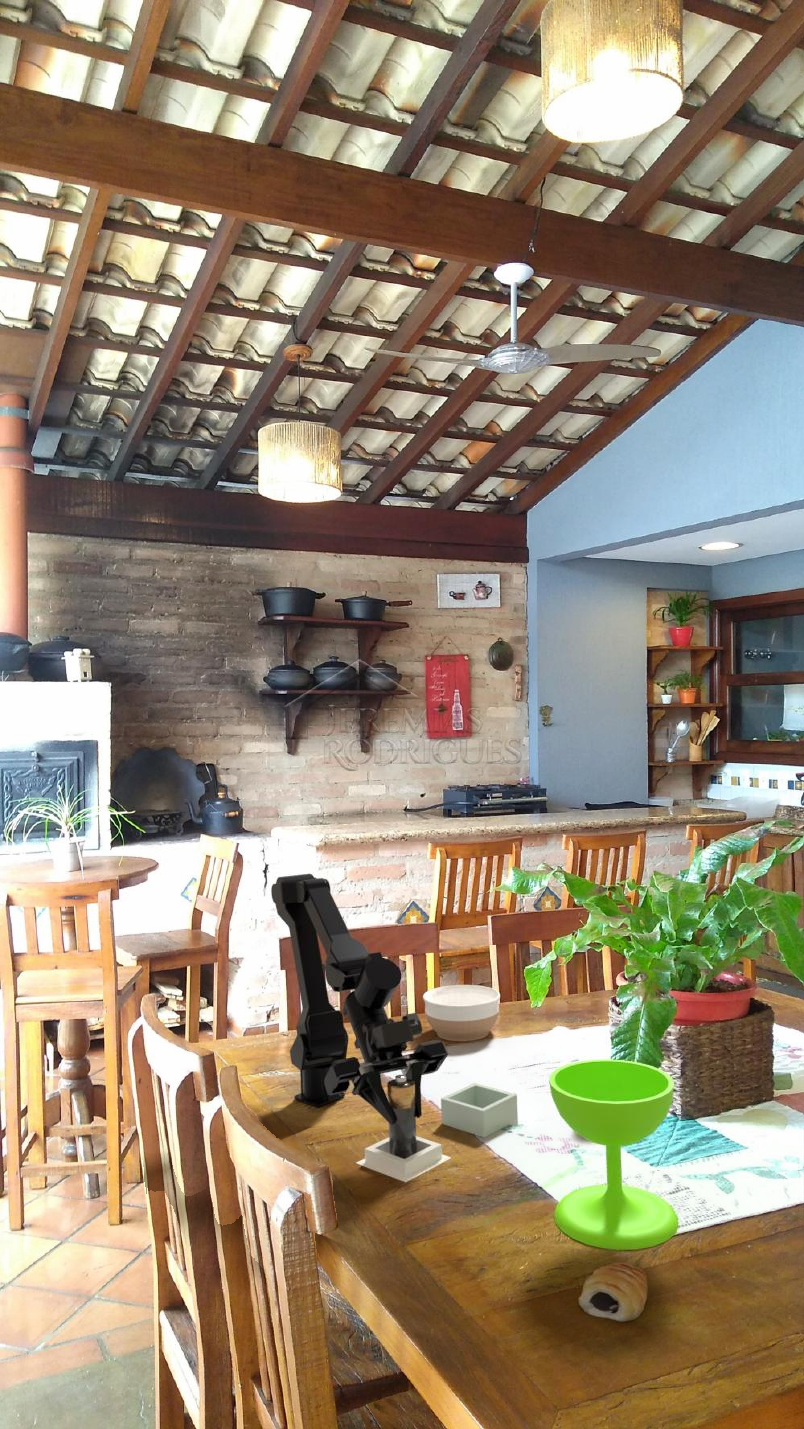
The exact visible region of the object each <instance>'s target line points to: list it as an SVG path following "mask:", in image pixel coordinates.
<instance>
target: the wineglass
mask: <svg viewBox="0 0 804 1429" xmlns="http://www.w3.org/2000/svg"><path fill="white" fill-rule="evenodd" d="M548 1082H549V1083H548V1084H549V1087H550V1093H551V1097H552V1101H553V1103H554V1105H555V1107H556V1109H557V1111H558V1113H559V1116H560V1117H561V1118H562V1119H563V1121H564V1122H565V1123H566V1124H567V1125H568V1127H569V1128H571V1130H573V1132H574V1133H576V1134H577V1135H579V1136H581V1137H583V1138H584V1139H585V1140H587V1141H588V1142H591V1143H595V1144H597V1145H601V1146H605V1160H606V1184H596V1185H591V1186H585V1187H582V1188H578V1189H575V1190H573V1191H571V1192H569V1193H568V1194H566V1195H565V1196H563V1197H562V1199H561V1200H560V1201H559V1202H558V1203H557V1205H556V1207H555V1210H554V1214H553V1219H554V1222H555V1225H556V1226H557V1227H558V1228H559V1229H560V1230H561V1231H562V1233H564V1234H566V1236H569V1237H570V1238H572V1239H573V1240H575V1241H577V1242H580V1243H583V1244H585V1245H588V1246H591V1247H596V1248H601V1249H609V1250H618V1251H628V1250H629V1251H630V1250H631V1251H632V1250H641V1249H647V1248H652V1247H656V1246H658V1245H662V1244H663V1243H665V1242H667V1241H668V1240H670V1239H671V1238H672V1237H673V1236H675V1235H676V1233H677V1231H678V1230H679V1227H680V1226H679V1225H680V1222H678V1220H679V1221H680V1219H679V1217H678V1214H677V1212H676V1210H674V1207H673V1206H672V1205H671V1204H669V1203H668V1202H667V1201H666V1200H665V1199H664V1198H663V1197H661V1196H659V1195H657V1194H655V1193H654V1192H651V1191H648V1190H644V1189H643V1188H638V1187H633V1186H630V1185H623V1176H622V1175H623V1174H622V1173H623V1172H622V1149H621V1147H625V1146H632V1145H634V1144H638V1143H639V1142H641V1141H643V1140H644V1139H646V1138H648V1137H649V1136H651V1135H653V1134H654V1133H655V1132H656V1130H658V1129H659V1127H660V1126H661V1125H662V1123H663V1122H664V1121H665V1120H666V1118H667V1117H668V1114H669V1113H670V1112H669V1111H670V1109H671V1106H672V1104H673V1097H674V1088H675V1086H674V1085H675V1080H674V1079H673V1077H672V1076H671V1075H670V1074H669V1073H668V1072H665V1071H664V1070H662V1069H660V1068H657V1067H655V1066H653V1065H651V1064H650V1065H649V1064H644V1063H642V1062H639V1061H638V1062H637V1061H630V1060H624V1059H590V1060H583V1061H577V1062H572V1063H568V1064H564V1065H562V1066H560V1067H558V1068H556V1069H554V1071H552V1072H551V1073H550V1075H549V1078H548ZM678 1224H679V1225H678ZM677 1229H678V1230H677Z"/></svg>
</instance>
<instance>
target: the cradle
mask: <svg viewBox="0 0 804 1429" xmlns="http://www.w3.org/2000/svg"><path fill="white" fill-rule="evenodd" d="M416 1140H417V1153H416V1154H414V1155H412V1156H410V1157H408V1158H406V1159H403V1158H400V1157H397V1156H394V1155H392V1154H390V1146H389V1136H388V1137H387V1138H384V1139H382V1140H381V1141H378V1142H376V1143H373V1144H371V1145H370V1146H368V1147H366V1148H364V1158H362V1159H361V1160H359V1161H357V1162H355V1164H357V1165H360V1166H362V1167H365V1168H367V1169H370V1170H372V1171H375V1172H378V1173H379V1174H383V1175H385V1176H389V1178H390V1177H391V1178H393V1179H396V1180H398V1181H401V1182H403V1183H407V1182H410V1181H411V1180H413V1179H416V1178H417V1177H418V1176H421V1175H422V1174H424V1173H426V1172H428V1171H430V1170H432V1169H434V1168H436V1167H438V1166H439V1165H441V1164H443V1163H446V1161H449V1160H451V1159H452V1157H451V1156H449V1155H444V1154H443V1151H442V1150H443V1149H442V1148H443V1146H442V1144H441V1143H438V1142H435V1141H432V1140H429V1139H426V1138H424V1137H420V1136H417V1135H416Z"/></svg>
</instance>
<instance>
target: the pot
mask: <svg viewBox="0 0 804 1429" xmlns="http://www.w3.org/2000/svg"><path fill="white" fill-rule="evenodd" d="M440 1106H441V1107H440V1108H441V1125H444V1126H448V1127H451V1128H453V1129H457V1130H461V1131H463V1132H466V1133H468V1134H469V1133H470V1134H472V1135H475V1136H479V1137H483V1138H486V1137H488V1136H489V1135H490V1136H491V1135H492V1134H493V1133H496V1132H498V1131H499V1130H501V1129H503V1128H505V1127H507V1126H509V1125H510V1126H514V1127H516V1126H517V1127H518V1126H519V1121H518V1120H519V1117H518V1115H519V1114H518V1095H517V1093H514V1092H513V1093H512V1092H510V1091H509V1092H508V1091H505V1090H502V1089H498V1088H494V1087H491V1086H487V1085H484V1084H480V1083H477V1082H474V1083H472V1084H471V1083H470V1084H469V1085H466V1086H464V1087H463V1088H461V1089H458V1090H456V1091H454V1092H452V1093H449V1094H447V1095H445V1096H444V1097H441V1098H440Z"/></svg>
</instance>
